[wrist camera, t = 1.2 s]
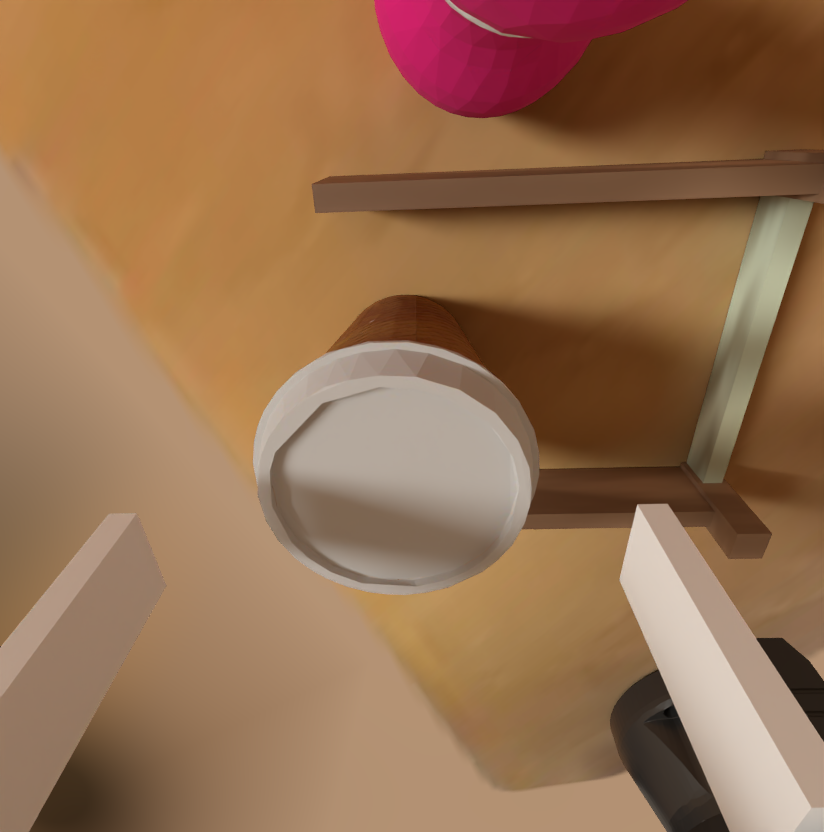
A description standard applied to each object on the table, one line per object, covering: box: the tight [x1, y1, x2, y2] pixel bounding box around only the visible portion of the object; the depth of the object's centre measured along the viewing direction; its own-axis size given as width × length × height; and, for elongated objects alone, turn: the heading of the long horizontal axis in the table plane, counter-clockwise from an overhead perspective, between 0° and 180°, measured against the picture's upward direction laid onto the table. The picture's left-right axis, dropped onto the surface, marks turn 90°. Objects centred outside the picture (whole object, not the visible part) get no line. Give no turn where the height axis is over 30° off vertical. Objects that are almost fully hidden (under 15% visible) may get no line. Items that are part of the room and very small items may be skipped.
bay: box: [312, 149, 824, 559], centre depth 23 cm, size 18×20×6 cm
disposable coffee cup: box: [253, 295, 539, 595], centre depth 21 cm, size 10×10×12 cm
